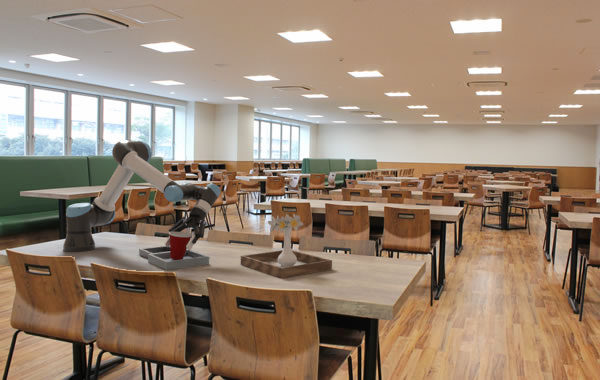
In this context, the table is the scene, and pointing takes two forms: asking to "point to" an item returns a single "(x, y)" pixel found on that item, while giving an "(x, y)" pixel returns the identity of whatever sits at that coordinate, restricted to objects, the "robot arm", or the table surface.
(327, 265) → the frame
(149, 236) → the table surface
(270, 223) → the flower vase
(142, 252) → the square collar
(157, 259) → the tray
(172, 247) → the plastic cup
